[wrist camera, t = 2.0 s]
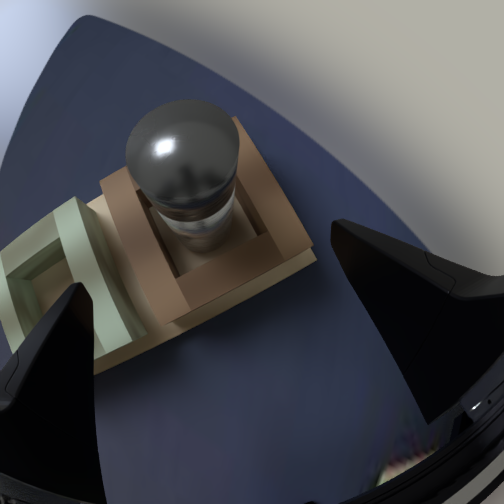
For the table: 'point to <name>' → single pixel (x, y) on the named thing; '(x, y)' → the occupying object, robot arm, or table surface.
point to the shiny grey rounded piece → (188, 169)
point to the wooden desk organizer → (149, 262)
